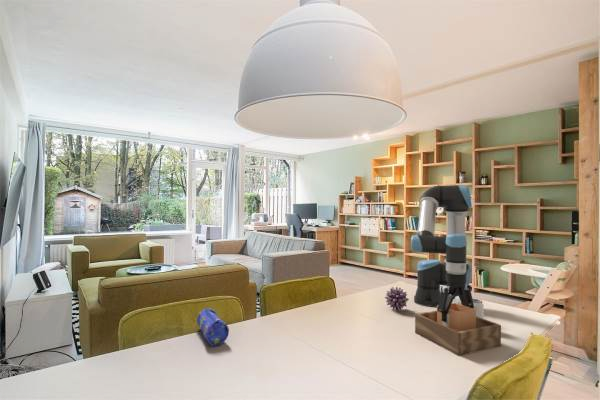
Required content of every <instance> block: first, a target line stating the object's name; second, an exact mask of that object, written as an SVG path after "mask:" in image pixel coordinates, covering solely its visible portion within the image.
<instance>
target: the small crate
mask: <svg viewBox="0 0 600 400" xmlns="http://www.w3.org/2000/svg"><path fill="white" fill-rule="evenodd" d="M437 309H438V305H437V306H436V311H437ZM448 314H449V328H451V329H453V330H455V331H458V332H459V331H464V330H470V329H475V328H476V309H473V308H470V307H467V306H464V305H461V304H458V303H452V304H451V306H450V309H449V311H448ZM437 323H440V324H442V325H443V321H442V313H441V312H439V311H437Z"/></svg>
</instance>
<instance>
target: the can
mask: <svg viewBox="0 0 600 400" xmlns="http://www.w3.org/2000/svg"><path fill="white" fill-rule="evenodd" d="M473 304H474V308H473V309H476V316H477V317H480V318H483V319H485V318H484V317H485V315H484V314H485V312H484V310H485V309H484V303H483V300H481V299H477V298H473ZM470 305H471V304H470Z"/></svg>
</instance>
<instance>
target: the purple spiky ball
mask: <svg viewBox="0 0 600 400" xmlns="http://www.w3.org/2000/svg"><path fill="white" fill-rule="evenodd" d="M407 293H408V292H407V291H404V289H403V288H401V287H398V286H396V287H395V288H394V287H393V286H391V287H390V289H389V290H386V293H385V294H386V296H384V299H386V301H385V302H386V305H387V306H389V305H390V307H389V308H392V310H396V311H398V310H400V311H402V309H403V308H404V307H408V306H407V302H408V301H410V300H409V299H410V298H409V297H408V298H407V296H408V294H407Z"/></svg>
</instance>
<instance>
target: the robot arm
mask: <svg viewBox="0 0 600 400" xmlns="http://www.w3.org/2000/svg"><path fill="white" fill-rule="evenodd" d="M418 207H419V216H418V222H417V230H416V234H415V235H413V234H412V236H410V237H411V238H410V249H411V251H413V252H415V253H427V254H440V255H441V254H443V255H445V259H444V260H443V261H444V262H443V263H441V260H439V259H424V260H420V261H418V263H417V269H416V271H417V279H416V280H417V285H416V286H417V288H416V291H415V295H414V296H413V302H414V303H415V304H417V305H421V306H425V307H437V305H438V309H437V308H436V311H439V312H441V313H442V321H443V325H444V326H446V327H449V314H448V311H449V309H450V306H451V304H452V301H453V299H455V297H456V296H459V298H460V301H461V303H462V305H464V306H467V307H470V308H474V304H473V299H474V298H473V295H472V290H471V289H472V285H470V282H471V276H472V266H471V265H470V264H469V261H468V260H467V245H468V242H467V235H466V215H467V213H469V211H470V210H469V209H471V208H473V205H472V198H471V190H470V187H469V186H468V185H463V184H457V185H455V184H453V185H451V184H450V185H435V186H432V187H430V188H428V189H426V190H425V191H424V192H423V193H422V194H421V196H420V198H419V201H418ZM438 208H443V211H444V213H446V217H447V218H446V219H447V221H446V222H447V224H446V225H447V226H446V227H447V231H446V233H447V234H446V235H445V236H437V235H435V232H436V231H435V230H436V217H437V214H436V213H437V210H438ZM472 298H473V299H472ZM470 304H471V305H470Z"/></svg>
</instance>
